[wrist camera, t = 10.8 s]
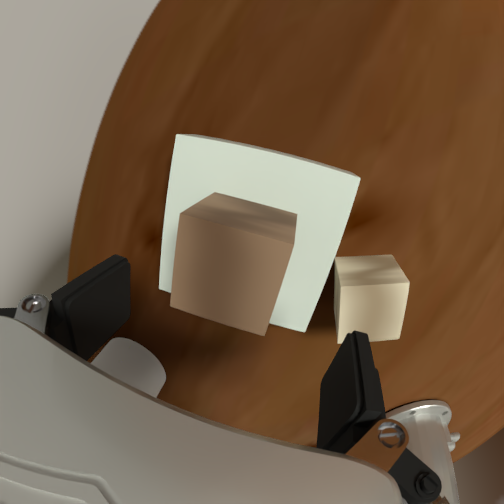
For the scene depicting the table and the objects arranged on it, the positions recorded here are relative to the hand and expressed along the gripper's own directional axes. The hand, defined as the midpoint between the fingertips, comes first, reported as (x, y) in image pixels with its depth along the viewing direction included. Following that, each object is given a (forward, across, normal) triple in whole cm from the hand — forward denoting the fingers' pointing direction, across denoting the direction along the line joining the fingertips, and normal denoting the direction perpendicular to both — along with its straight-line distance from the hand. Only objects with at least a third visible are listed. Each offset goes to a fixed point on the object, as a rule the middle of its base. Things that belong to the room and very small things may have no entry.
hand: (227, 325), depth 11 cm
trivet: (+10, +1, -1) cm, 10 cm away
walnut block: (+7, +1, -1) cm, 7 cm away
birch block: (+11, -8, +1) cm, 13 cm away
